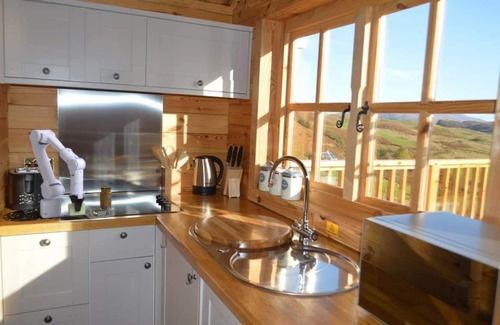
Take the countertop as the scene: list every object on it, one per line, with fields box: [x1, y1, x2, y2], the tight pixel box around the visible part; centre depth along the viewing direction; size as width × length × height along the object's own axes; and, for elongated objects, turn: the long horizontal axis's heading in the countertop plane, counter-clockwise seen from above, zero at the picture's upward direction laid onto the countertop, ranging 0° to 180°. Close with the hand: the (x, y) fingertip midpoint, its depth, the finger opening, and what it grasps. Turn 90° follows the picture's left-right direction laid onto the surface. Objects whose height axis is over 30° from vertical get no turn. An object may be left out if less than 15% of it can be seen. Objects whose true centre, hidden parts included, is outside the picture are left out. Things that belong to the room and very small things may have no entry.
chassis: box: [84, 207, 115, 220], centre depth 214 cm, size 12×9×4 cm
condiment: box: [96, 186, 115, 211], centre depth 231 cm, size 7×8×12 cm
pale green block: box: [67, 202, 86, 216], centre depth 205 cm, size 7×4×5 cm, turn 126°
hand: (76, 210), depth 205 cm, fingers closed on pale green block, 4 cm apart
